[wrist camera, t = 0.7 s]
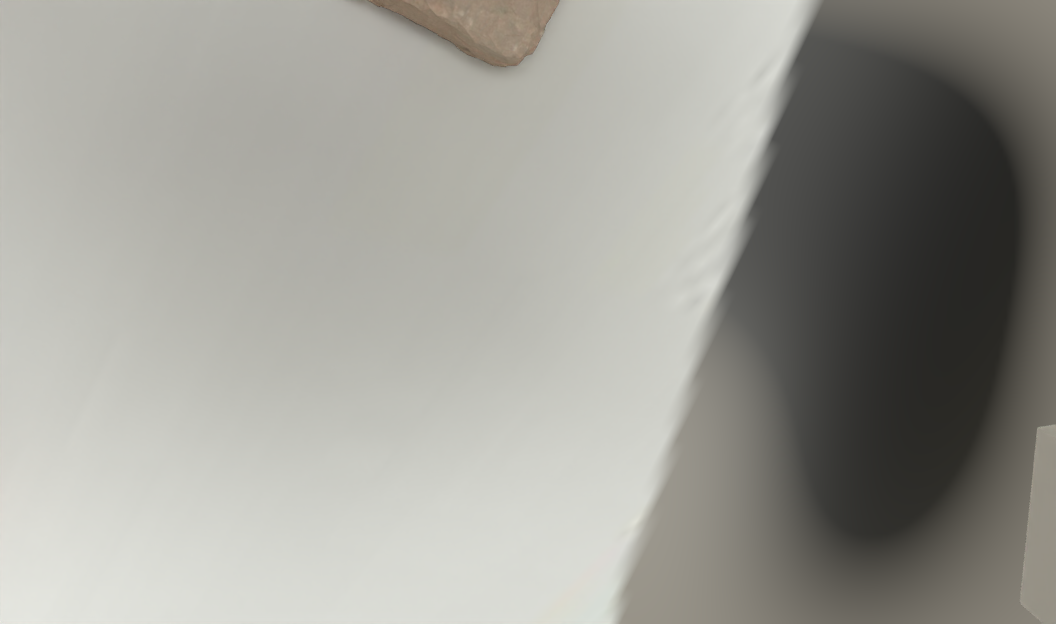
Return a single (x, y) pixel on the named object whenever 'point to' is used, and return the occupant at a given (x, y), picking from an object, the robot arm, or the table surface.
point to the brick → (482, 24)
